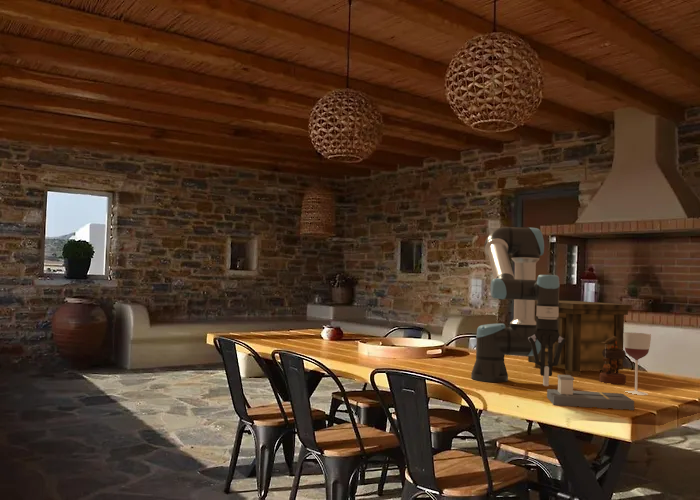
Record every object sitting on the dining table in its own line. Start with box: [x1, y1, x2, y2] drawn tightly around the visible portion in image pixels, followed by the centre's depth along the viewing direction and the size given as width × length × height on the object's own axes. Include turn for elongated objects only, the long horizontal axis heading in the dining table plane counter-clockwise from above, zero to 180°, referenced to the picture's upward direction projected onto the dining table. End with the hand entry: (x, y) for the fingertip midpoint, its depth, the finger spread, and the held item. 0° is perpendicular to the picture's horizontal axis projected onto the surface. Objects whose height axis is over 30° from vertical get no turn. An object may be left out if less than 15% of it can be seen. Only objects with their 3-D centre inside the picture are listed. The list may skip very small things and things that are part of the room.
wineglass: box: [623, 332, 652, 396], centre depth 245 cm, size 9×10×23 cm
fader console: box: [546, 388, 635, 411], centre depth 220 cm, size 26×14×3 cm, turn 82°
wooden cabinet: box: [527, 300, 633, 376], centre depth 302 cm, size 35×35×33 cm
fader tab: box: [557, 374, 575, 395], centre depth 221 cm, size 4×6×6 cm
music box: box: [599, 336, 627, 385], centre depth 270 cm, size 15×11×20 cm
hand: (545, 385), depth 222 cm, fingers closed
